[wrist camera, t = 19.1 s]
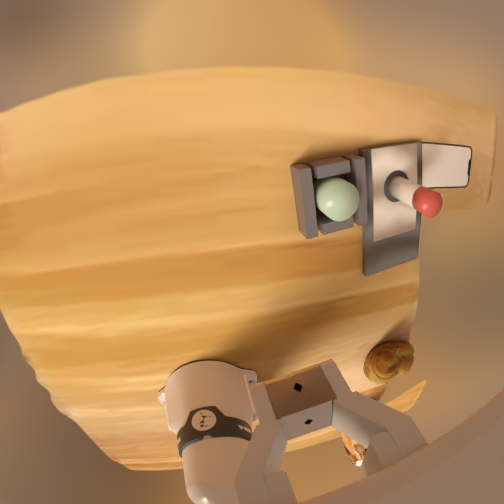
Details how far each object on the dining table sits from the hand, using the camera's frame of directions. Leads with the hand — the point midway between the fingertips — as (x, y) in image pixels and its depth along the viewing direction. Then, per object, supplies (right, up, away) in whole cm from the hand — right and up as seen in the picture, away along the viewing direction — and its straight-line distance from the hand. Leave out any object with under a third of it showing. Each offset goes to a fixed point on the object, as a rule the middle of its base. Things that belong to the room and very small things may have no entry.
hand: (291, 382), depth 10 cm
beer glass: (+23, -39, +59) cm, 74 cm away
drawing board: (+20, +11, +33) cm, 40 cm away
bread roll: (+27, -17, +50) cm, 59 cm away
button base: (+8, +12, +29) cm, 33 cm away
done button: (+9, +12, +29) cm, 33 cm away
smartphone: (+30, +19, +32) cm, 48 cm away
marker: (+19, +14, +30) cm, 38 cm away
